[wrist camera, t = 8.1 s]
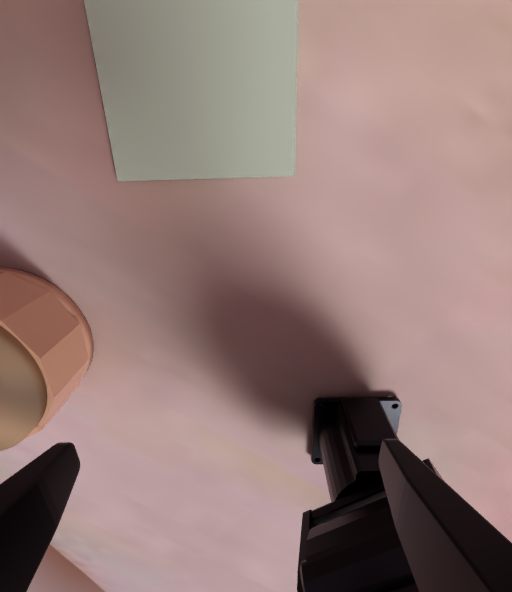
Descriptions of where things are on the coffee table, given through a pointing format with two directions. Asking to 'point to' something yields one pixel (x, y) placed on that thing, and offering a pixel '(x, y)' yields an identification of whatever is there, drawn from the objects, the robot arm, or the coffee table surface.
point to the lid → (19, 391)
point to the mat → (197, 86)
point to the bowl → (47, 333)
